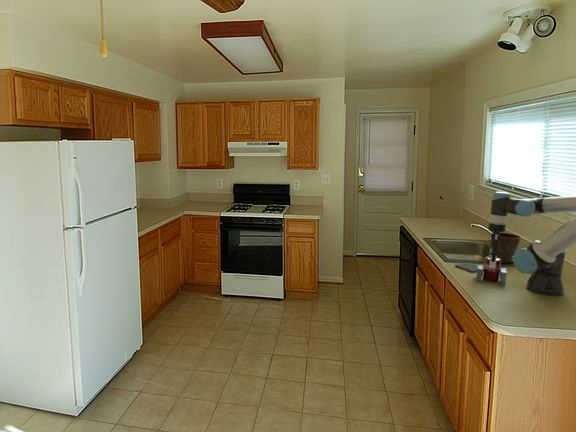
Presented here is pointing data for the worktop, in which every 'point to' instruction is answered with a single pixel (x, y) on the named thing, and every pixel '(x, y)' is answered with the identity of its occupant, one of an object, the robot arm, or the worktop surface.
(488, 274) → the soda can
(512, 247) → the plant pot
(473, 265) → the rubber mat
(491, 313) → the worktop surface
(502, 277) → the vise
